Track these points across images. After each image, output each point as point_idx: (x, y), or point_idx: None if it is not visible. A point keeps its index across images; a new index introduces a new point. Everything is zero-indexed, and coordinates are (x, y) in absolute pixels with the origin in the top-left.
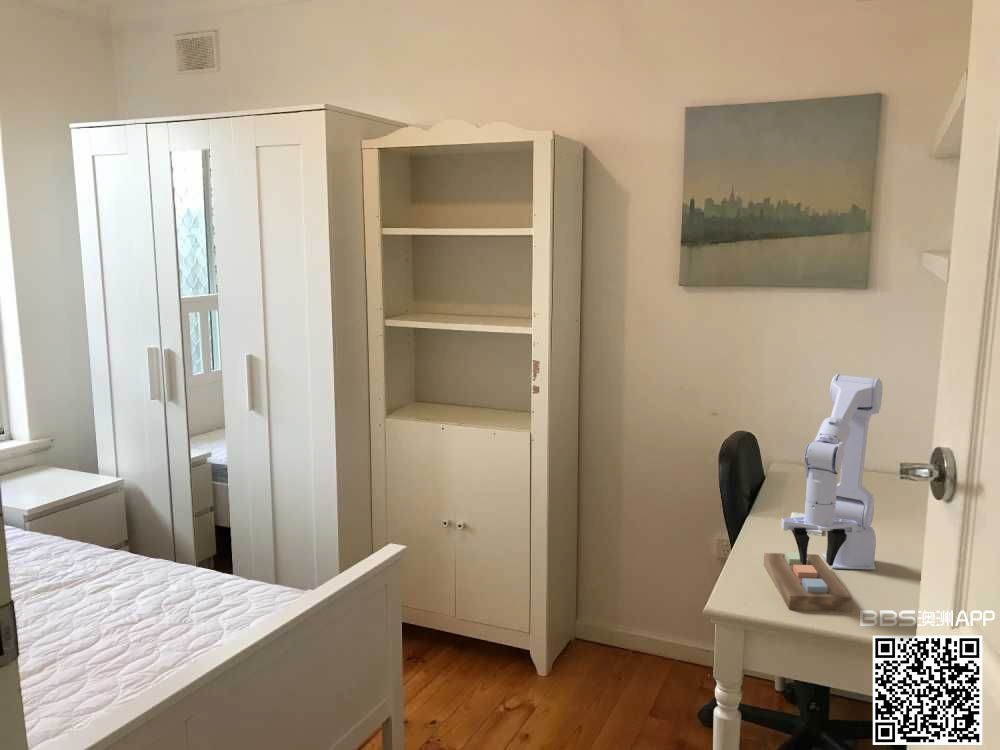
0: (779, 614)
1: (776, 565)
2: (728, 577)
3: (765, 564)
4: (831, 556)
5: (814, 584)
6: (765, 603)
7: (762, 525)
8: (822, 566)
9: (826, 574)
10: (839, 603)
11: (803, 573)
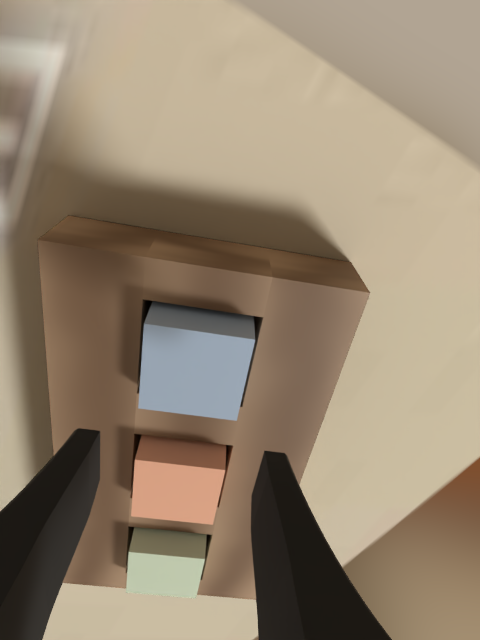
0: (424, 220)
1: None
2: (420, 500)
3: None
4: (65, 487)
5: (206, 357)
6: (418, 323)
7: None
8: None
9: None
10: (111, 238)
11: (201, 462)
